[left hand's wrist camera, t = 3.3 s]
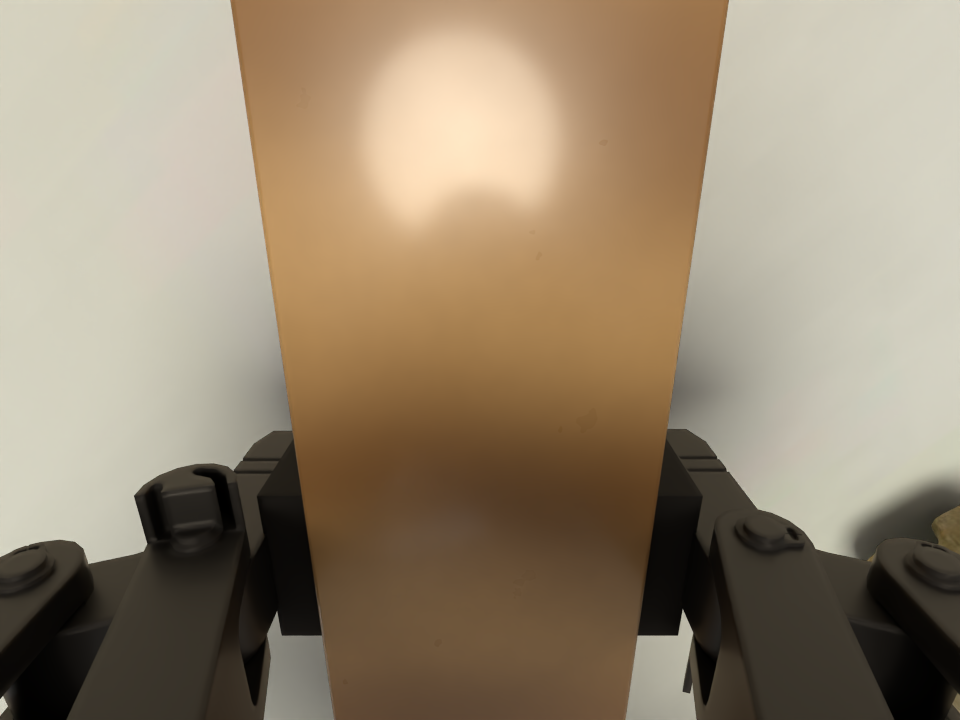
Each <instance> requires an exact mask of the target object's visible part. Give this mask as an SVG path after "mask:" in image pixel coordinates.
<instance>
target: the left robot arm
mask: <svg viewBox="0 0 960 720" xmlns="http://www.w3.org/2000/svg"><path fill="white" fill-rule="evenodd" d="M134 497H135V501H136V504H137V508H138V512H139V515H140V519H141V522H142V526H143V529H144V533H145V537H146V540H147V546H146V548H145V551H144V552H141V553H138V554H134V555H130V556H125V557H120V558H116V559H111V560H106V561H101V562H97V563H92V564H88V561H87V558H86V555H85V553H84V550H83V548H82V547H81V546H79V545H78V544H77V543H76V542H71V541H65V540H54V541H46V542H39V543H35V544H31V545H29V546H24V547H21V548H18V549H16V550H14V551H12V552H10V553H8V554H6V555H4V556H2V557H0V699H1V697H2V696H4V699H5V701H6V703H7V705H8V707H7V709H6V710H5V711H4V712H3V713H2V715H1V716H0V720H263V719H264V711H265V702H266V694H267V685H268V677H269V668H270V659H271V656H270V648H269V642H268V637H267V633H268V630H269V628H270V626H271V623H272V621H273V619H274V617H275V614H276V612H278V617H279V623H280V628H281V634H282V636H289V635H322V631H321V624H320V617H319V610H318V603H317V597H316V590H315V583H314V576H313V569H312V562H311V555H310V548H309V541H308V534H307V527H306V520H305V513H304V506H303V500H302V493H301V486H300V479H299V472H298V465H297V458H296V451H295V444H294V437H293V431H273V432H271V433H270V434H268V435H267V436H265V437H264V438H262V439H261V440H259V441H257V442H256V443H254V445H253V446H252V447H251V448H250V450H249V451H248V452H247V454H246V455H245V456H244V458H243V461H241V462H240V463H239V464H238V466H237V467H236V468H235V470H234V471H232V470H231V469H230V468H229V467H227V466H223V465H218V464H195V465H190V466H185V467H181V468H177V469H174V470H172V471H169V472H167V473H164V474H161V475H159V476H157V477H156V478H154V479H153V480H151V481H149V482H148V483H146V484H145V485H143V486H142V488H141V489H140V490H139V491H138V492H137V493H136V494H135V495H134ZM682 610H684V612H685V615H686V617H687V619H688V621H689V624H690V626H691V628H692V631H693V637H692V642H691V648H690V653H689V658H688V663H687V668H686V673H685V678H684V685H683V692H686V693H690V691H691V686H692V684H693V692H694V701H695V709H696V718H697V720H960V713H959V712H958V710H957V709H956V708H955V707H954V706H953V702H954V700H955V697H956V695H957V693H958V694H959V695H960V554H958V553H956V552H953V551H951V550H949V549H948V548H946V547H944V546H941V545H938V544H935V543H934V544H933V543H931V542H928V541H924V540H918V539H910V538H902V537H899V538H892V539H885V540H884V541H883V542H882V543H880V544H879V545H878V546H877V548H876V551H875V554H874V557H873V560H872V562H870V561H865V560H861V559H856V558H851V557H846V556H842V555H837V554H832V553H827V552H824V551H820V550H816V549H815V547H814V545H813V543H812V542H811V540H810V539H809V538H808V537H807V535H806V534H805V533H804V531H802V530H801V529H800V528H798V527H797V526H795V525H794V524H793V523H791V522H790V521H788V520H786V519H784V518H782V517H779V516H777V515H775V514H773V513H770V512H766V511H762V510H758V509H757V508H756V507H755V505H754V504H753V503H752V501H751V500H750V499H749V498H748V496H747V495H746V494H745V492H744V491H743V490H742V488H741V487H740V486H739V485H738V483H737V482H736V481H735V479H734V478H733V477H732V475H731V474H730V473H729V472H727V471H726V468H725V466H724V465H723V464H722V462H721V461H720V460H719V459H717V456H716V455H715V453H714V452H713V451H712V449H711V448H710V447H709V445H708V444H707V443H706V442H705V441H704V440H702V439H701V438H699V437H698V436H696V435H694V434H693V433H691V432H690V431H688V430H687V429H667V434H666V441H665V448H664V455H663V462H662V469H661V476H660V482H659V489H658V496H657V503H656V510H655V517H654V524H653V531H652V538H651V545H650V552H649V559H648V566H647V573H646V580H645V587H644V594H643V601H642V608H641V615H640V622H639V629H638V635H678V632H679V626H680V621H681V615H682Z"/></svg>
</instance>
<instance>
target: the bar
mask: <svg viewBox="0 0 960 720" xmlns="http://www.w3.org/2000/svg"><path fill="white" fill-rule="evenodd" d="M230 1H231V8H232V15H233V22H234V28H235V35H236V42H237V49H238V56H239V63H240V70H241V77H242V84H243V91H244V98H245V105H246V112H247V119H248V125H249V132H250V139H251V146H252V153H253V160H254V167H255V174H256V181H257V188H258V195H259V202H260V209H261V216H262V222H263V229H264V236H265V243H266V250H267V257H268V264H269V271H270V278H271V285H272V292H273V299H274V306H275V312H276V319H277V326H278V333H279V340H280V347H281V354H282V361H283V368H284V375H285V382H286V389H287V396H288V403H289V409H290V416H291V423H292V430H293V437H294V444H295V451H296V458H297V465H298V472H299V479H300V486H301V493H302V500H303V506H304V513H305V520H306V527H307V534H308V541H309V548H310V555H311V562H312V569H313V576H314V583H315V590H316V597H317V603H318V610H319V617H320V624H321V631H322V638H323V645H324V652H325V659H326V666H327V673H328V680H329V687H330V694H331V700H332V707H333V714H334V720H625V719H626V712H627V705H628V698H629V691H630V684H631V677H632V670H633V663H634V656H635V649H636V642H637V635H638V629H639V622H640V615H641V608H642V601H643V594H644V587H645V580H646V573H647V566H648V559H649V552H650V545H651V538H652V531H653V524H654V517H655V510H656V503H657V496H658V489H659V482H660V476H661V469H662V462H663V455H664V448H665V441H666V434H667V427H668V420H669V413H670V406H671V399H672V392H673V385H674V378H675V371H676V364H677V357H678V350H679V343H680V336H681V329H682V323H683V316H684V309H685V302H686V295H687V288H688V281H689V274H690V267H691V260H692V253H693V246H694V239H695V232H696V225H697V218H698V211H699V204H700V197H701V190H702V183H703V176H704V170H705V163H706V156H707V149H708V142H709V135H710V128H711V121H712V114H713V107H714V100H715V93H716V86H717V79H718V72H719V65H720V58H721V51H722V44H723V37H724V30H725V24H726V17H727V10H728V3H729V0H230Z"/></svg>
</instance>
